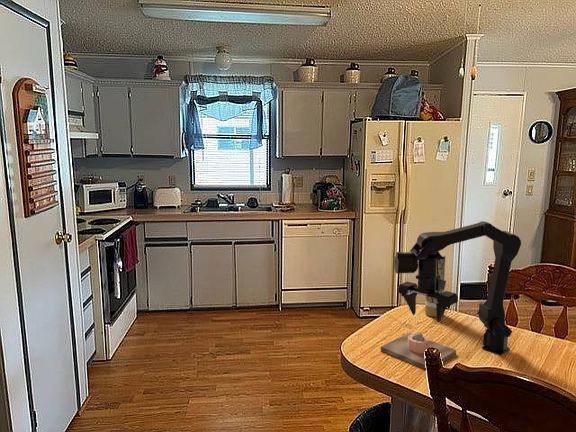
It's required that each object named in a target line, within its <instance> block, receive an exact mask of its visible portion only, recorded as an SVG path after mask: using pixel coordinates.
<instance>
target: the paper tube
mask: <svg viewBox="0 0 576 432" xmlns="http://www.w3.org/2000/svg"><path fill="white" fill-rule="evenodd" d="M438 252H439V253H440V255H441V256H442V257H444V259H440V260H437V275H439V279H441V280H445V277H446V273H445V272H446V253H444V252H442V251H438ZM436 292H437V293H443V292H445V289H444V290H442V289H440V290H439V291H436ZM424 301H425V303H424V305H425V307H424V314H425V315H426V316H428V317H432V318H437V309H436V304H438V302H437V299H436V298H432V297H429V296H425V300H424Z"/></svg>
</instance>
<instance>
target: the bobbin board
mask: <svg viewBox="0 0 576 432" xmlns="http://www.w3.org/2000/svg"><path fill="white" fill-rule="evenodd" d="M411 334H412V333H411V332H407V333H406V334H403V335H400V336H398V337H397V338H395V339H393V340H391V341H389V342H387V343H385V344H383V345H381V346H380V352H382V353H385V354H387V355H389V356H392V357H395V358H397V359H400V360H401V361H404V362H406V363H409V364H411V365H413V366H416V367H419V368H420V369H423V370H426V368H425V359H424V353H415V352H413V351H410V350H409V349H408V346H407V345H408V336H409V335H411ZM414 334H415V340H416V341H422V335H423V333H422V332H420V331H418V332H415V333H414ZM429 347H434V348H437V349H438V350H439V351H440V353H441V358H442V361H443V363H444V362H447V361H448V360H449V359H451V358H452V357H454V356H456V355H457V349H454V348H452V347H449V346H447V345H443V344H440V343H438V342H435V341H433V340H430V339H429ZM426 371H427V370H426Z"/></svg>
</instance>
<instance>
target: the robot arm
mask: <svg viewBox="0 0 576 432" xmlns="http://www.w3.org/2000/svg"><path fill="white" fill-rule="evenodd" d="M481 237H487V238H489V239H490V240H492V241H493V243H492V245H493V247H492V249H493V252H494V258H495V259H494V263H493V267H492V274H491V277H490V278H491V280H490V284H489V288H488V289H489V290H488V294H487V295H488V296H487V298H486V300H485V302H479V304H478V311H477V313H476V314H477V315H478V318H479V319H478V320H479V321H480V322H481V323H482V324H483V326H484V328H486V329H485V330H484V333H483V336H482V337H483V338H482V347H481V349H483V350H486V351H488V352H490V353H494V354H497V355H499V356H503V354H505V353H506V352H508V351H510V347H508V344H509V343H508V341H509V337H511V335H512V333H513V330H512V329H511V328H510V327H509V326H508V325H507V324H506V311H505V308H504V301H505V295H506V291H507V285H508V282H509V281H508V280H509V275H510V270H511V265H512V262H513V260H515V258H516V257H517V255H519V254H518V253H519V251H520V248H521V246H522V240H521V239H520V237H519V235H516V234H514V233H512V232H509V231H505V230H501V229H499V228H498V227H496V226H494V225H493V224H492V223H489V222H487V221H483V220H482V221H479V222H477V223H473V224H469V225H465V226H461V227H458V228H453V229H451V230H450V229H449V230H447V231H427V232H422V233H420V234H419V236H418V237H417V239H416V242H415V244H414V245H413V246H412V247H411V249H410V250H409V251H408V252H407V251H406V252H402V251H396V252H395V257H394V260H393V267H394V268H393V269H394V272H395V273H396V274H415V272H417V275H415V279H416V280H417V283H414V282H411V281H405V282H402V283H400V284H399V285H398V287H397V293H398V294H400V295H401V297H403V299H404V300H405V303H407V306H408V308H409V310H410V312H411V314H412V315H413V316H414V315H415V314H416V312H417V311H416V309H417V306H416V305H417V303H416V302H417V299H416V298H417V295H422V296H424V297H426V296H429V297H432V298H436V299H437V302H438V304H436V309H437V317H436V321H437V323H441V321H442V319H443V316H444V314H445V312H446V310H447V308H448V307H450V306H452V305H455V304H457V303H458V301H459V296H458V294H457V293H456V292H452V291H447V290H445V288H446V283H447V281H446V280H445V279H444V280H441V279H439V275H437V260H440V259H444V257H442V256H441V255H440V253H439V252H441V251H443V250H444V249H445V248H447V247H448V246H450V245H454V244H457V243H461V242H464V241H465V242H466V241H469V240H474V239H478V238H481ZM417 270H418V271H417ZM440 289H442V290H444V292H443V293H437V292H436V291H439V290H440Z"/></svg>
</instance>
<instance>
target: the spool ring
mask: <svg viewBox="0 0 576 432" xmlns="http://www.w3.org/2000/svg"><path fill="white" fill-rule="evenodd" d="M429 340H430V339H429V336H427V335H424V334H422V341H416V340H415V333H411V335H409V336H408V345H407V346H408V349H409V350H410V351H413V352H415V353H424V352H425V350H426V349H427V348H429Z"/></svg>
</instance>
